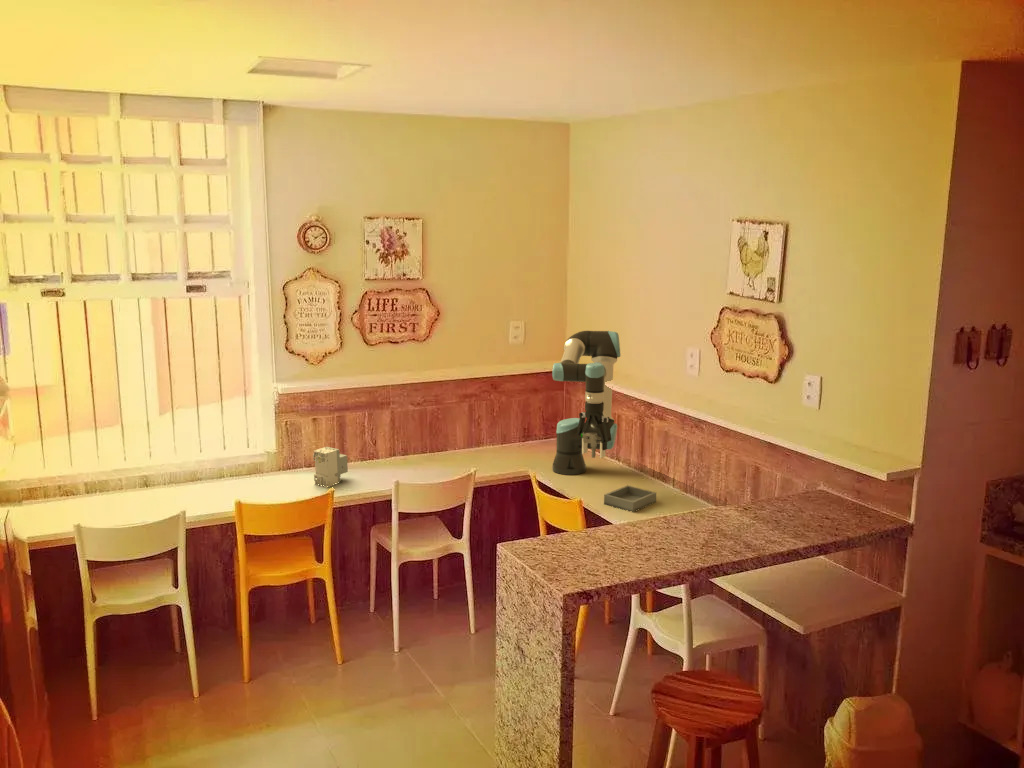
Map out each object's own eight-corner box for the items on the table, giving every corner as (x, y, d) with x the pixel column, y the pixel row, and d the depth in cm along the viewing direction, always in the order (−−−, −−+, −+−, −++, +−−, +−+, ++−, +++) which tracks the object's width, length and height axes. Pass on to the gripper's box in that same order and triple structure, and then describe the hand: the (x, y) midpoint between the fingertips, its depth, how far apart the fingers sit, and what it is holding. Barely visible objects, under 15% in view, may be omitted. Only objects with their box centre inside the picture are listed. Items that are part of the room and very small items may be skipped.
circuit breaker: (350, 479, 388) (349, 446, 385) (326, 487, 377) (325, 453, 374) (338, 476, 393) (337, 443, 390) (314, 484, 381) (312, 450, 378)
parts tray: (627, 494, 368) (627, 485, 367) (655, 502, 358) (656, 492, 358) (604, 504, 356) (604, 494, 355) (632, 512, 347) (633, 502, 346)
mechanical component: (605, 458, 363) (605, 435, 361) (580, 457, 365) (580, 434, 363) (606, 456, 366) (606, 433, 364) (581, 455, 368) (581, 432, 366)
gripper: (568, 399, 365) (567, 452, 370) (610, 407, 351) (609, 462, 355) (579, 395, 370) (578, 448, 375) (621, 404, 356) (620, 458, 361)
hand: (593, 455), depth 365 cm, fingers closed on mechanical component, 9 cm apart
